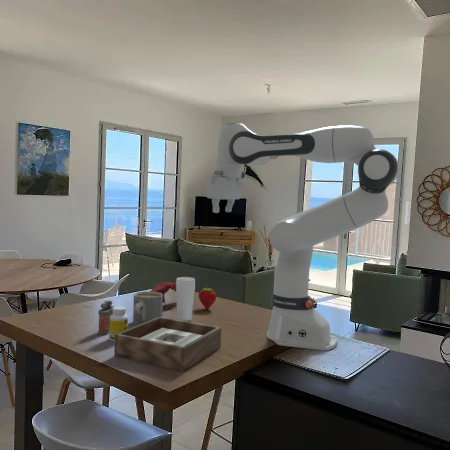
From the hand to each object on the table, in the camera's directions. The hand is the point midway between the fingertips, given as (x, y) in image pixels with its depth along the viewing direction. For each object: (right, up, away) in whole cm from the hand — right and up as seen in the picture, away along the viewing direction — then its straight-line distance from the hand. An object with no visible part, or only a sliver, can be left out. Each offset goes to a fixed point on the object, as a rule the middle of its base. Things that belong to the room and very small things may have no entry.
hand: (222, 212), depth 155 cm
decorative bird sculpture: (-25, -37, +25) cm, 51 cm away
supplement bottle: (-32, -40, -16) cm, 53 cm away
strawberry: (-6, -38, +25) cm, 46 cm away
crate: (-15, -41, -25) cm, 50 cm away
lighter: (-37, -39, -9) cm, 55 cm away
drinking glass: (-14, -39, +9) cm, 42 cm away
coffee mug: (-27, -39, +2) cm, 47 cm away
